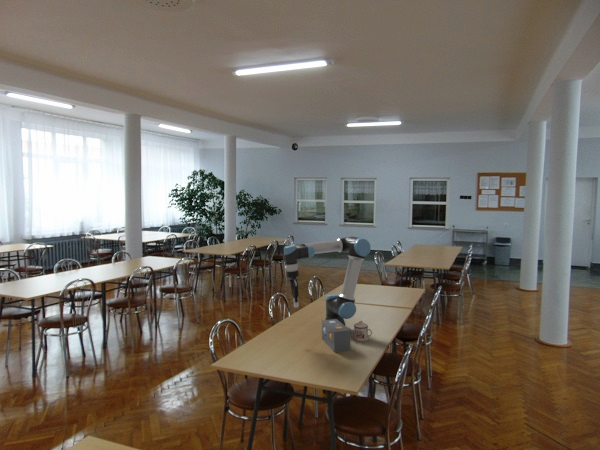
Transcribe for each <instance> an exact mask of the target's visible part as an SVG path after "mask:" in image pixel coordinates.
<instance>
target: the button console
mask: <svg viewBox="0 0 600 450" xmlns="http://www.w3.org/2000/svg"><path fill="white" fill-rule="evenodd" d="M324 327H325V328H326V334H324V330H323V329H324ZM330 333H332V341H331V340H330ZM321 339H322V340H323V342H325V344H327V346H328V347H329V348H330V349H331V350H332V351H333V353H337V352H348V351H351V329H350V328H348V327H347V326H346V325H345V326H344V325H343V324H342V323H341V322H340V321H338V320H337V319H331V320H325V319H322V320H321Z"/></svg>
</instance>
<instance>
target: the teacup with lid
mask: <svg viewBox="0 0 600 450" xmlns="http://www.w3.org/2000/svg"><path fill="white" fill-rule="evenodd" d="M368 331H369V332H370V334H369V332H368ZM368 334H369V335H368ZM372 335H373V330H372V329H370V328H369V324H368V323H365V322H363V320H359V321H358V322H356V323H354V324H353V339H354V340H355V341H357V342H366V341H368V340H369V338H370V337H371V336H372Z"/></svg>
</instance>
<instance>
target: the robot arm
mask: <svg viewBox="0 0 600 450" xmlns="http://www.w3.org/2000/svg"><path fill="white" fill-rule="evenodd" d="M334 252H338V253H347V257H348V263H347V267H346V271H345V276H344V279H343V284H342V287H341V292H340V293H331V294H327V295H326V296H325V319H324V320H331V319H337V320H338V321H340V322H341V323H342V324H343V325H344V326H346V321H345V320H349V319H352V318H354V316H355V314H356V313H357V306H356V304H355V303H356V298H355V292H356V288H357V284H358V279H359V276H360V270H361V267H362V262H363V261H364V260H365V259H366V257H367V256H368V255H369V254H370V252H371V244H370V241H368V239H366V238H363V237H358V236H357V237H356V236H347V237H346V236H345V237H341V238H337V239H336V240H328V241H318V242H317V241H316V242H309V243H299V244H298V243H293V244H291V245H285V246H284V247H283V255H284V256H283V257H284V262H285V263H284V264H285V266H284V268H285V270H286V277H287V278H290V279H288V281H289V286H290V291H291V296H292V301H293V307H294V308H299V307H300V305H299V303H300V302H299V283H298V279H297V277H299V276H300V274H299V263H298V261H300V260H305V259H310V258H314V256H315V254H317V255H318V254H324V253H334ZM344 319H345V320H344Z"/></svg>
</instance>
